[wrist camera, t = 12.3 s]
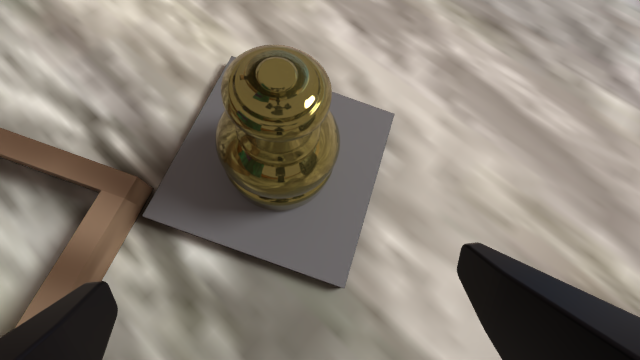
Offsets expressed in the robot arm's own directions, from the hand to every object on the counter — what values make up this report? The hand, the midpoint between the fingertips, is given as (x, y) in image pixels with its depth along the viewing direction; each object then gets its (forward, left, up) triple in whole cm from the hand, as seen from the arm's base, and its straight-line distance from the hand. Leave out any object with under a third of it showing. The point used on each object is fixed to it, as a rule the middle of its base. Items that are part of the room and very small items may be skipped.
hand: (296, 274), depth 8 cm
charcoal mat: (+8, +3, -13) cm, 16 cm away
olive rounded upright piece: (+7, +3, -13) cm, 15 cm away
